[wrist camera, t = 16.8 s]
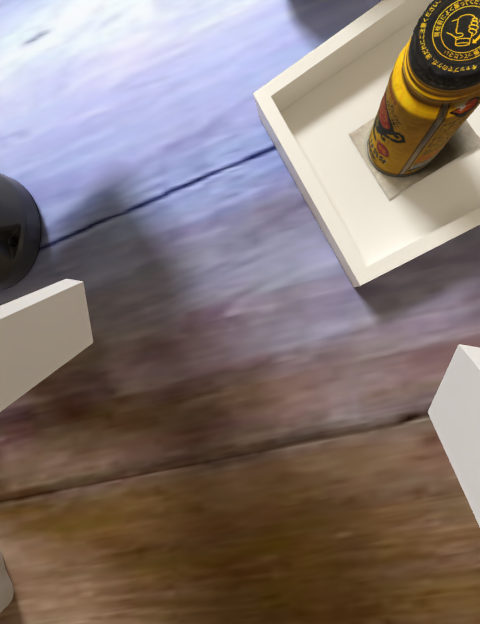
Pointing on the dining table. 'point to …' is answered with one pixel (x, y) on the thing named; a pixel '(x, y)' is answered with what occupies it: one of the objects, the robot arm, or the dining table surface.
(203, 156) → the dining table surface
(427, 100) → the condiment
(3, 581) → the lumpy-topped squat cylinder
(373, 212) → the tray
